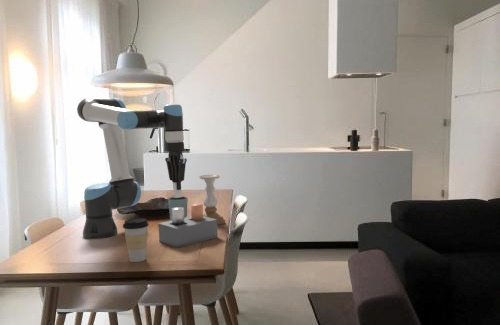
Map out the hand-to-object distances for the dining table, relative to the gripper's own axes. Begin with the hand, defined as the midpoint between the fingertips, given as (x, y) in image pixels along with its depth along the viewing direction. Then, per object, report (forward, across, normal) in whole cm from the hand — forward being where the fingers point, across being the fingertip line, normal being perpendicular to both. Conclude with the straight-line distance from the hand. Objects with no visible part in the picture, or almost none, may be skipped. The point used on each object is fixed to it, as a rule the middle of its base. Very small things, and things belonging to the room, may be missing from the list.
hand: (177, 197), depth 181 cm
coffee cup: (+20, -8, +24) cm, 32 cm away
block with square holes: (+19, 0, -5) cm, 20 cm away
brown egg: (+12, 0, -10) cm, 15 cm away
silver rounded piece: (+12, 0, 0) cm, 12 cm away
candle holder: (+20, +16, -30) cm, 39 cm away
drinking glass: (+19, +34, -22) cm, 44 cm away
